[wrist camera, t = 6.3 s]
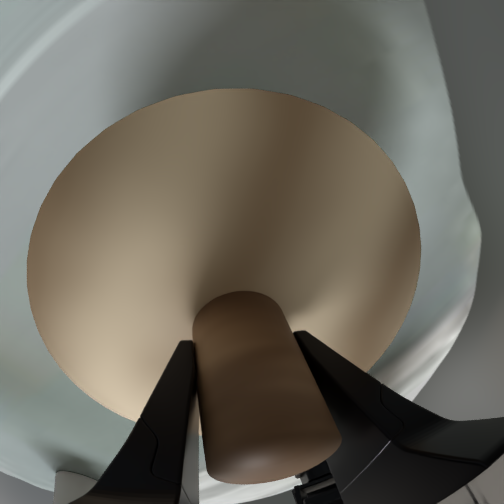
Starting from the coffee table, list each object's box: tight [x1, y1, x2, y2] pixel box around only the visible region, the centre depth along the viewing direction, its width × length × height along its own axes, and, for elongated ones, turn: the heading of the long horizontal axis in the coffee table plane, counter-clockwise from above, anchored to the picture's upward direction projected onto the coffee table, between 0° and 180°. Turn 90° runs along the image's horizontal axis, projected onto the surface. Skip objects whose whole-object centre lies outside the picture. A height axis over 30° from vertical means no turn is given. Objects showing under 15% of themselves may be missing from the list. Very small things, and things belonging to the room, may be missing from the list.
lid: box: [27, 89, 421, 484], centre depth 8 cm, size 15×15×6 cm
